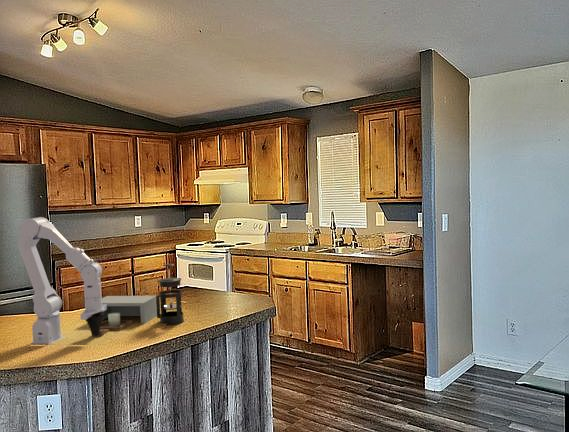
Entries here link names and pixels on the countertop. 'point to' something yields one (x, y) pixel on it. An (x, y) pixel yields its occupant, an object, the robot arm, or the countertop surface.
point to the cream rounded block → (114, 319)
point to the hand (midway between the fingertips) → (95, 334)
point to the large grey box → (131, 306)
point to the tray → (105, 327)
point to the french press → (170, 316)
